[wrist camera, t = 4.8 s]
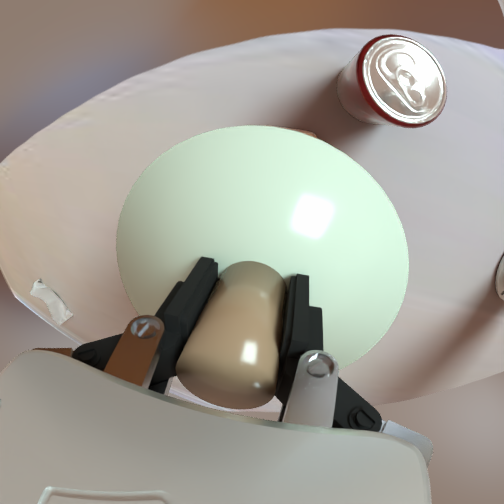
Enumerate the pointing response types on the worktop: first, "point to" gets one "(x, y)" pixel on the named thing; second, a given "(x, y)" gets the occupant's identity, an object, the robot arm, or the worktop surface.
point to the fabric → (51, 302)
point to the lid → (262, 252)
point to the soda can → (393, 83)
